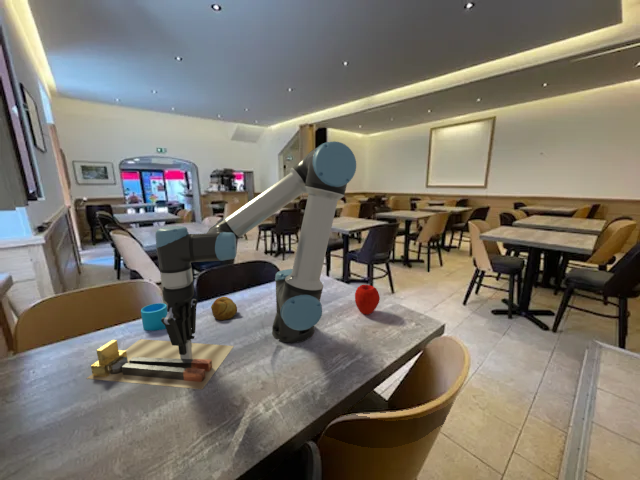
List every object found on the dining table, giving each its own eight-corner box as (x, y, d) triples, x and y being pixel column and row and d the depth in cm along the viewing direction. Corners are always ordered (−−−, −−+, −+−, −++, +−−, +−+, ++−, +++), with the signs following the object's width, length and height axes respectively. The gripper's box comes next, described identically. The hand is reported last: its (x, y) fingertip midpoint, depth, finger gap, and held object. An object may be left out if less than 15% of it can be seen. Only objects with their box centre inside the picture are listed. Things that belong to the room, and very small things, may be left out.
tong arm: (212, 367, 78) (211, 359, 77) (209, 371, 76) (208, 363, 75) (134, 364, 79) (133, 356, 78) (129, 368, 77) (128, 360, 77)
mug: (166, 331, 99) (164, 310, 98) (140, 335, 97) (137, 314, 95) (172, 316, 110) (170, 297, 109) (149, 320, 108) (146, 300, 106)
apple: (382, 311, 115) (383, 283, 113) (373, 320, 107) (374, 291, 104) (360, 305, 120) (361, 279, 118) (350, 314, 112) (350, 286, 110)
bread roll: (211, 310, 116) (210, 292, 115) (235, 306, 120) (234, 289, 118) (212, 324, 105) (210, 304, 103) (238, 319, 108) (237, 300, 106)
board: (234, 350, 88) (234, 345, 88) (202, 394, 70) (202, 389, 69) (140, 343, 92) (140, 339, 92) (87, 383, 74) (86, 378, 73)
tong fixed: (210, 371, 76) (209, 363, 76) (201, 382, 72) (200, 374, 71) (118, 363, 79) (117, 355, 79) (105, 373, 75) (103, 365, 75)
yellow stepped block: (127, 360, 80) (124, 338, 79) (106, 377, 74) (101, 353, 72) (115, 359, 81) (111, 337, 80) (92, 375, 74) (88, 352, 73)
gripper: (179, 275, 80) (188, 347, 85) (147, 293, 68) (159, 376, 73) (203, 276, 79) (210, 349, 84) (175, 294, 67) (185, 378, 72)
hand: (187, 361), depth 78 cm, fingers closed
